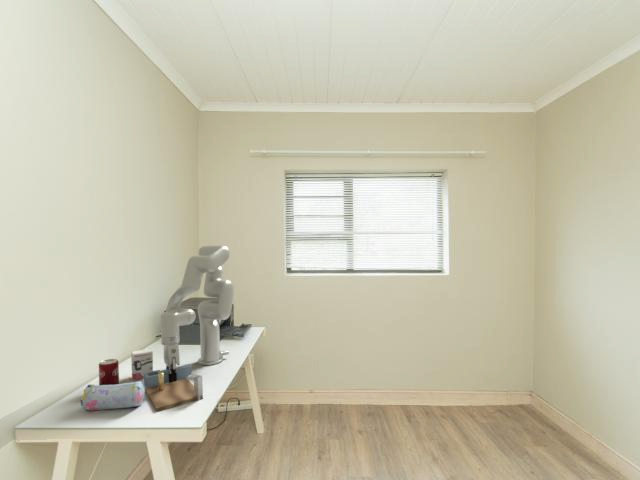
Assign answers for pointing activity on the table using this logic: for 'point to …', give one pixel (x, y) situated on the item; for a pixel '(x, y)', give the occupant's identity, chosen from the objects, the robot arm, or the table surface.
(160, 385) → the peg
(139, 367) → the ink box
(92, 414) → the table surface
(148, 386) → the link
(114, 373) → the soda can
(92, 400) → the pencil case
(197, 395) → the plate
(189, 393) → the board
